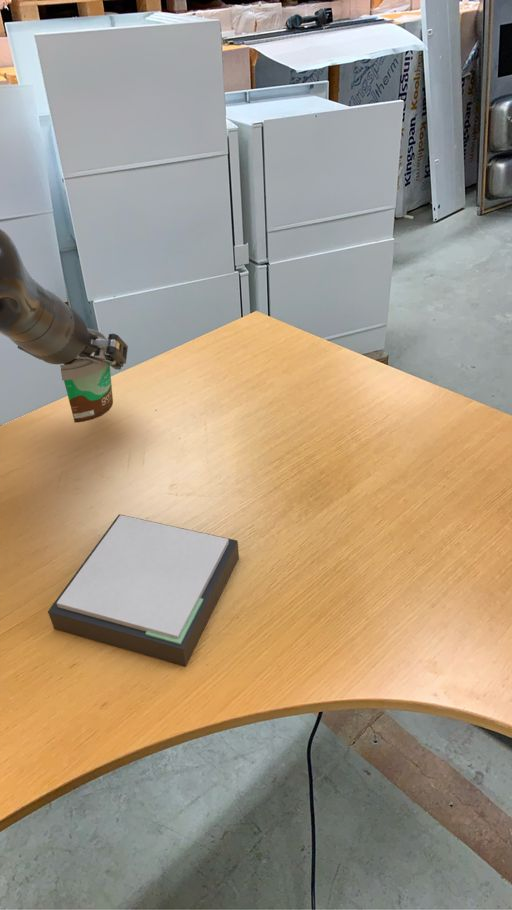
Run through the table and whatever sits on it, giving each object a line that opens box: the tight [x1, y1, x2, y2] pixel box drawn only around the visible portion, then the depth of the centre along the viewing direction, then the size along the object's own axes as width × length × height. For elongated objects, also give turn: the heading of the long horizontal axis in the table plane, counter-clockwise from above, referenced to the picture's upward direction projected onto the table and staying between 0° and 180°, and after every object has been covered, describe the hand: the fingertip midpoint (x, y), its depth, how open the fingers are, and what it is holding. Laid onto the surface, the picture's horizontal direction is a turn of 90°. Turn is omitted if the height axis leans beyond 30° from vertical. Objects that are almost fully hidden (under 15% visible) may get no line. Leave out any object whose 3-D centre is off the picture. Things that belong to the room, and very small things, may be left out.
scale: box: [47, 514, 240, 667], centre depth 75 cm, size 16×16×4 cm
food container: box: [59, 327, 114, 424], centre depth 95 cm, size 12×6×10 cm, turn 4°
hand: (95, 361), depth 96 cm, fingers closed on food container, 6 cm apart
